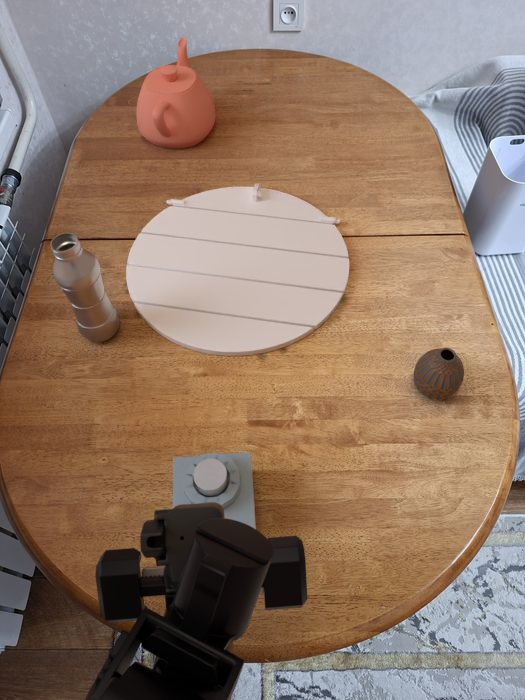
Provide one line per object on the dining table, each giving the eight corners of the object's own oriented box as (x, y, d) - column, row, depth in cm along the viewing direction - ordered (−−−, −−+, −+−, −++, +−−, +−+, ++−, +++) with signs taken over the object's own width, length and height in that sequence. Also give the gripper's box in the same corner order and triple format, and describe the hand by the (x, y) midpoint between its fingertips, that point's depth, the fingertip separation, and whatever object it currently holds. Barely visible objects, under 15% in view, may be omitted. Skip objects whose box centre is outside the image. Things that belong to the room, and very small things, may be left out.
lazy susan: (164, 178, 111) (161, 164, 109) (358, 199, 107) (360, 185, 104) (95, 337, 89) (89, 324, 87) (335, 372, 85) (337, 360, 82)
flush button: (228, 494, 66) (227, 488, 65) (195, 497, 66) (193, 491, 65) (227, 463, 69) (226, 457, 67) (195, 466, 69) (193, 459, 67)
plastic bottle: (73, 335, 90) (28, 247, 73) (102, 308, 93) (65, 218, 76) (102, 353, 88) (62, 267, 71) (131, 325, 91) (99, 236, 74)
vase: (455, 370, 85) (472, 337, 77) (456, 409, 81) (474, 379, 73) (410, 364, 85) (422, 331, 78) (408, 403, 82) (421, 371, 74)
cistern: (258, 559, 69) (256, 542, 63) (179, 566, 69) (169, 549, 63) (252, 469, 76) (250, 445, 70) (180, 475, 76) (171, 451, 69)
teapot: (157, 91, 129) (146, 32, 118) (227, 96, 127) (222, 36, 116) (126, 158, 115) (110, 98, 104) (204, 165, 114) (196, 104, 102)
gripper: (310, 531, 42) (292, 454, 57) (64, 550, 41) (112, 467, 57) (317, 659, 44) (297, 552, 59) (82, 678, 44) (124, 565, 59)
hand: (209, 532), depth 59 cm, fingers closed
